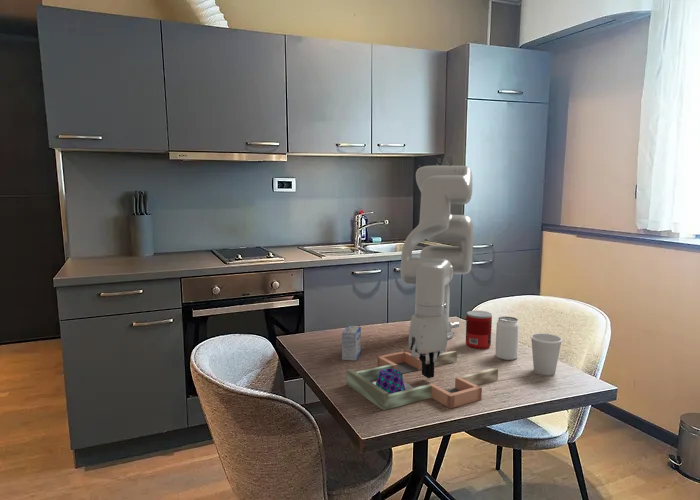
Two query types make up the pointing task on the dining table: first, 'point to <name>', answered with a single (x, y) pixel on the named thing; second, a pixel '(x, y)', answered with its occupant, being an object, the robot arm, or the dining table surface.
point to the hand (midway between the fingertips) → (427, 376)
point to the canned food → (478, 329)
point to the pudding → (391, 381)
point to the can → (507, 338)
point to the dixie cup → (545, 352)
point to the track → (387, 401)
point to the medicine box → (351, 343)
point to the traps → (449, 398)
